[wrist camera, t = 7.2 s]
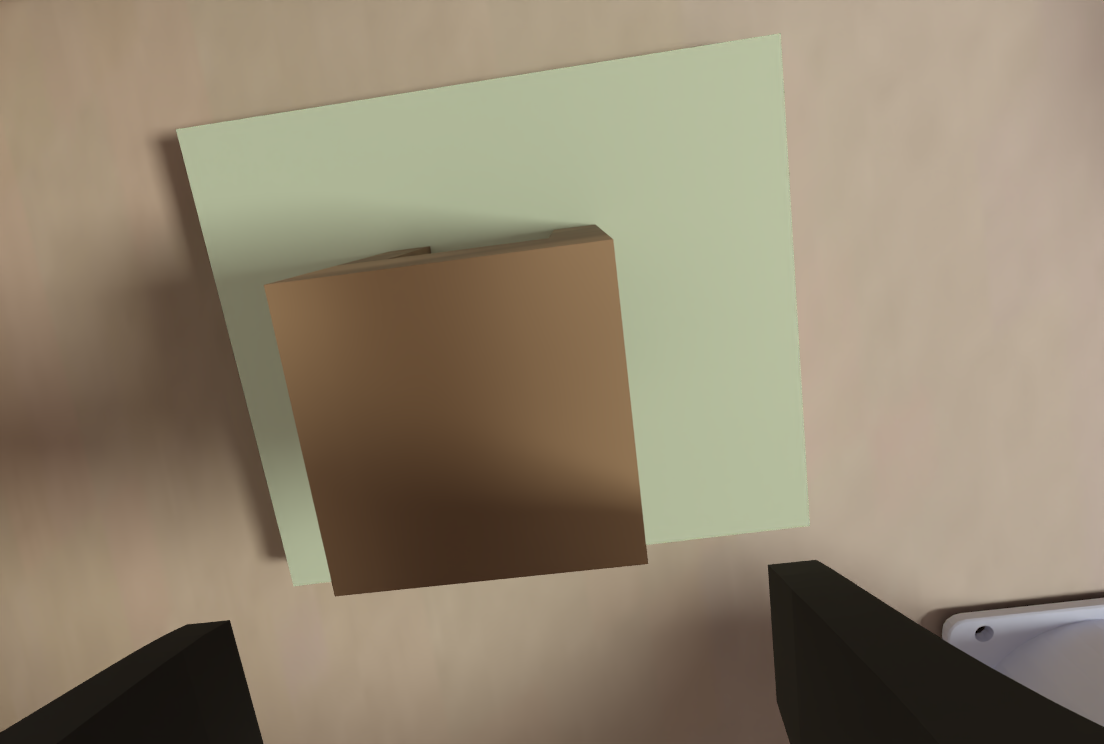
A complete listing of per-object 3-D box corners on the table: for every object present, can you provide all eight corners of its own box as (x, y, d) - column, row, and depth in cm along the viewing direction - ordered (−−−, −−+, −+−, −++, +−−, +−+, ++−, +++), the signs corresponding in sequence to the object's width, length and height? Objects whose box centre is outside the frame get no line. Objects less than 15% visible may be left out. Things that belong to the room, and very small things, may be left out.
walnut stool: (595, 224, 16) (613, 239, 9) (617, 423, 17) (647, 563, 11) (389, 251, 17) (263, 284, 10) (424, 445, 18) (334, 596, 11)
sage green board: (762, 48, 17) (780, 33, 15) (792, 501, 19) (810, 525, 18) (208, 135, 17) (175, 129, 16) (313, 558, 20) (294, 586, 19)
